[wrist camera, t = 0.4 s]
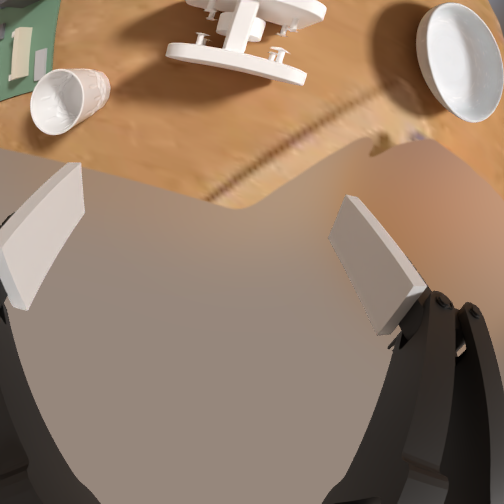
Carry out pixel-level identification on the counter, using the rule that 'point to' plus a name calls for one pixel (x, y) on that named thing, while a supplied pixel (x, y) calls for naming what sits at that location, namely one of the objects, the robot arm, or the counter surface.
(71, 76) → the white cup
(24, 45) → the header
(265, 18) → the cable organizer
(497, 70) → the serving bowl
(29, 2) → the plug
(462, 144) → the counter surface
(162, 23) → the counter surface
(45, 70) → the board
